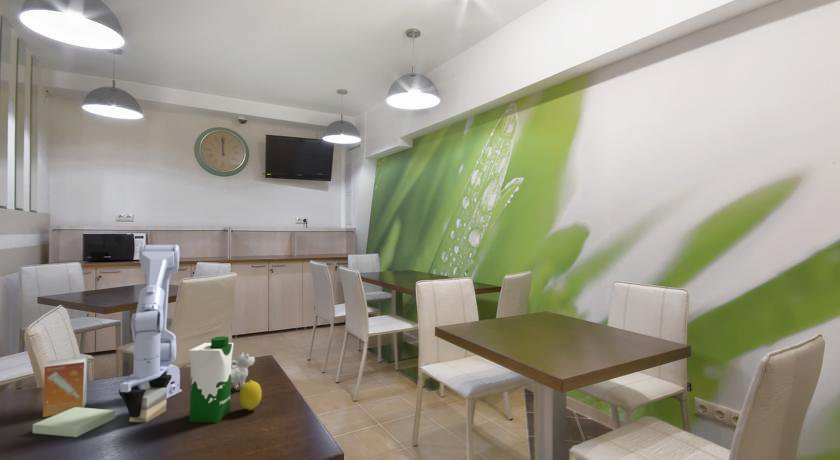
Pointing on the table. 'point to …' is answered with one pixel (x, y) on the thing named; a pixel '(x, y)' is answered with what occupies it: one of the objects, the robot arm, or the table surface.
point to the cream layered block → (152, 404)
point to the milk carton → (210, 380)
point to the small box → (64, 385)
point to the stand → (74, 422)
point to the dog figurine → (240, 369)
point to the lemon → (250, 395)
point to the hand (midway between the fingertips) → (146, 410)
